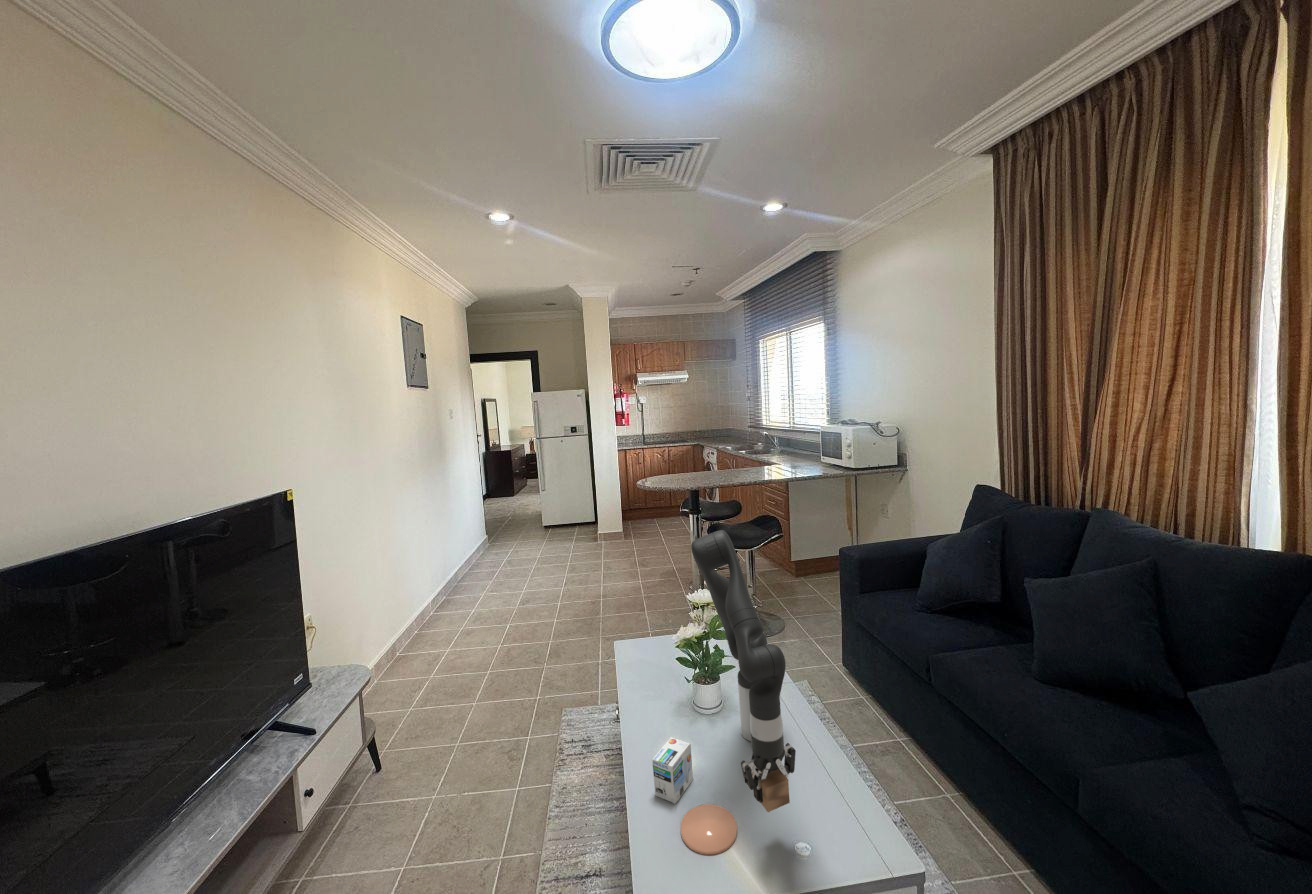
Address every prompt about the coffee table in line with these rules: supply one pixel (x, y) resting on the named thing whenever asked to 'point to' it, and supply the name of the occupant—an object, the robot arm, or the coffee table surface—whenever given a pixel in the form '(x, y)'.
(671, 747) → the light bulb box
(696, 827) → the terracotta coaster
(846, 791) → the coffee table surface
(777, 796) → the walnut cube
